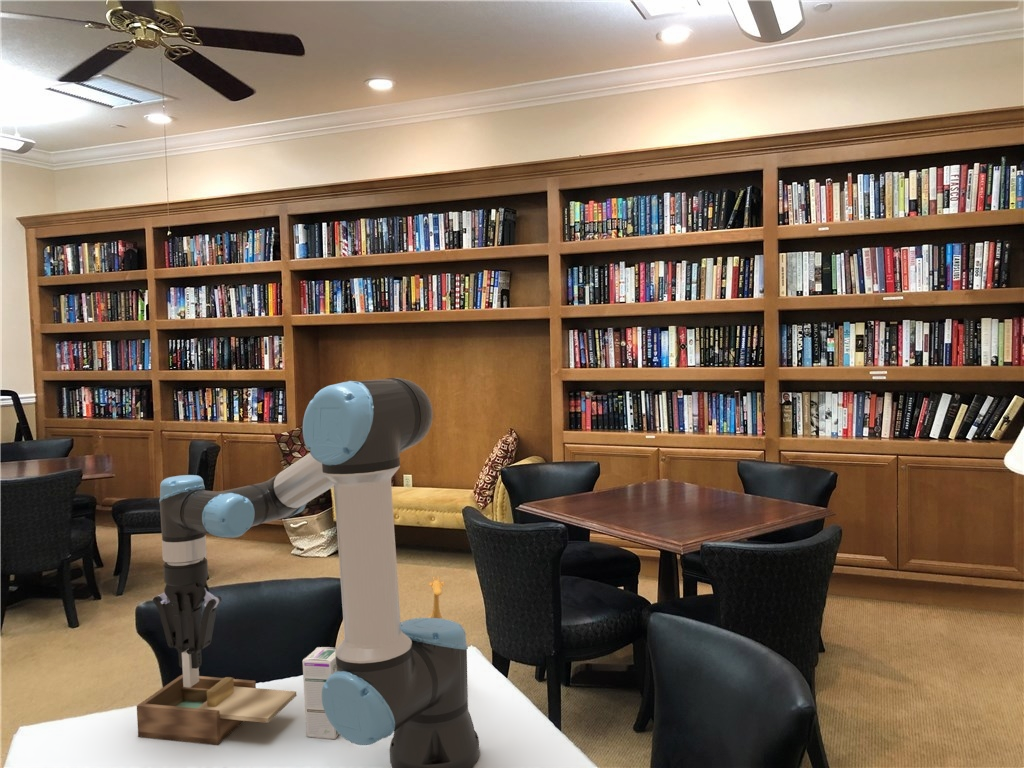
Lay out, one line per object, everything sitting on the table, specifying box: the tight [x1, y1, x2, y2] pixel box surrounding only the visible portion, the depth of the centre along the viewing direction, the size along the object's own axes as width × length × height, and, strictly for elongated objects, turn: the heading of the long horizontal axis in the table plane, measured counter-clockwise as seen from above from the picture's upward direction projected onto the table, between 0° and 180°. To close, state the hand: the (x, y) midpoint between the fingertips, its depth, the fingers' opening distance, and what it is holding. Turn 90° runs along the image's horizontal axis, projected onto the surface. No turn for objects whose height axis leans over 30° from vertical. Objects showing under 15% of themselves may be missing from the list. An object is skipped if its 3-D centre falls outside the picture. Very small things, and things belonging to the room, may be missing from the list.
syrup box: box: [302, 646, 340, 740], centre depth 141 cm, size 6×6×14 cm
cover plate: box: [198, 676, 297, 724], centre depth 143 cm, size 15×10×4 cm
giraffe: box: [427, 576, 445, 619], centre depth 155 cm, size 16×4×25 cm, turn 10°
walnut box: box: [136, 674, 257, 746], centre depth 145 cm, size 16×13×6 cm
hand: (191, 683), depth 145 cm, fingers closed
